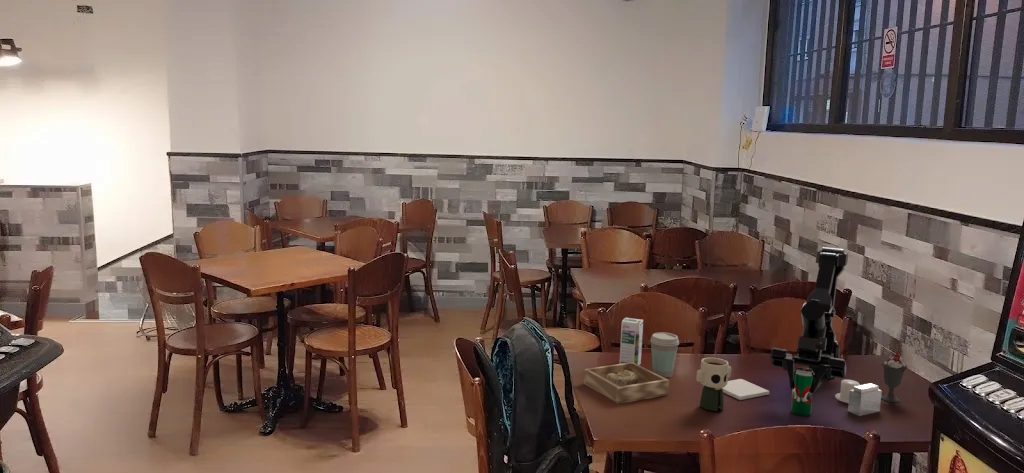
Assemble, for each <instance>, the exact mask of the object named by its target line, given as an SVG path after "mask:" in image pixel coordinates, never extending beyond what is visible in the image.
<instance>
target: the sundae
mask: <svg viewBox="0 0 1024 473" xmlns="http://www.w3.org/2000/svg"><path fill="white" fill-rule="evenodd" d="M899 352H900V349H898V350H897V352H896V353H895V354H892V355H890V356H889V358H888V359H887V360H883V361H882V362H881V363H880V365H881V366H882V367H883V380H884V383H885V384H886V386H887V387H888V388H889V389H888V393H887V394H886V395H881V400H883V401H885V402H889V403H893V404H895V403H900V402H901V399H900V398H898V397H896V396H895V392H894V391H895V388H897V387H899V386H900V385H901V383H902V381H903V376H904V372H905V371H906V370H907V369H908V366H907V365H906V364H905V363H904V361H903V358H902V357H901V354H899Z"/></svg>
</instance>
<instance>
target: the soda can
mask: <svg viewBox="0 0 1024 473" xmlns="http://www.w3.org/2000/svg"><path fill="white" fill-rule="evenodd" d="M794 370H795V371H794V379H793V388H792V389H791V390H792V391H791V392H792V393H791V402H790V411H791V412H792V413H793V414H794V415H797V416H803V417H805V416H810V415H811V413H812V407H813V396H814V394H813V393H812V389H813V385H814V382H815V378H814V377H815V374H814V373H813V370H812V369H810V368H808V366H797V367H795V369H794Z"/></svg>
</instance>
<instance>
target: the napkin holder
mask: <svg viewBox="0 0 1024 473" xmlns="http://www.w3.org/2000/svg"><path fill="white" fill-rule="evenodd" d="M879 387H880V386H879V385H877V384H874V383H871V382H870V383H864V384H859V386H854V389H853V390H850V394H849V403H847V404H848V406H847V412H849V413H852V414H853V415H856V416H859V417H862V416H865V415H870V414H875V413H879V412H880V411H881V402H882V399H881V396H882V392H883V391H882V390H881V389H879Z"/></svg>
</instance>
